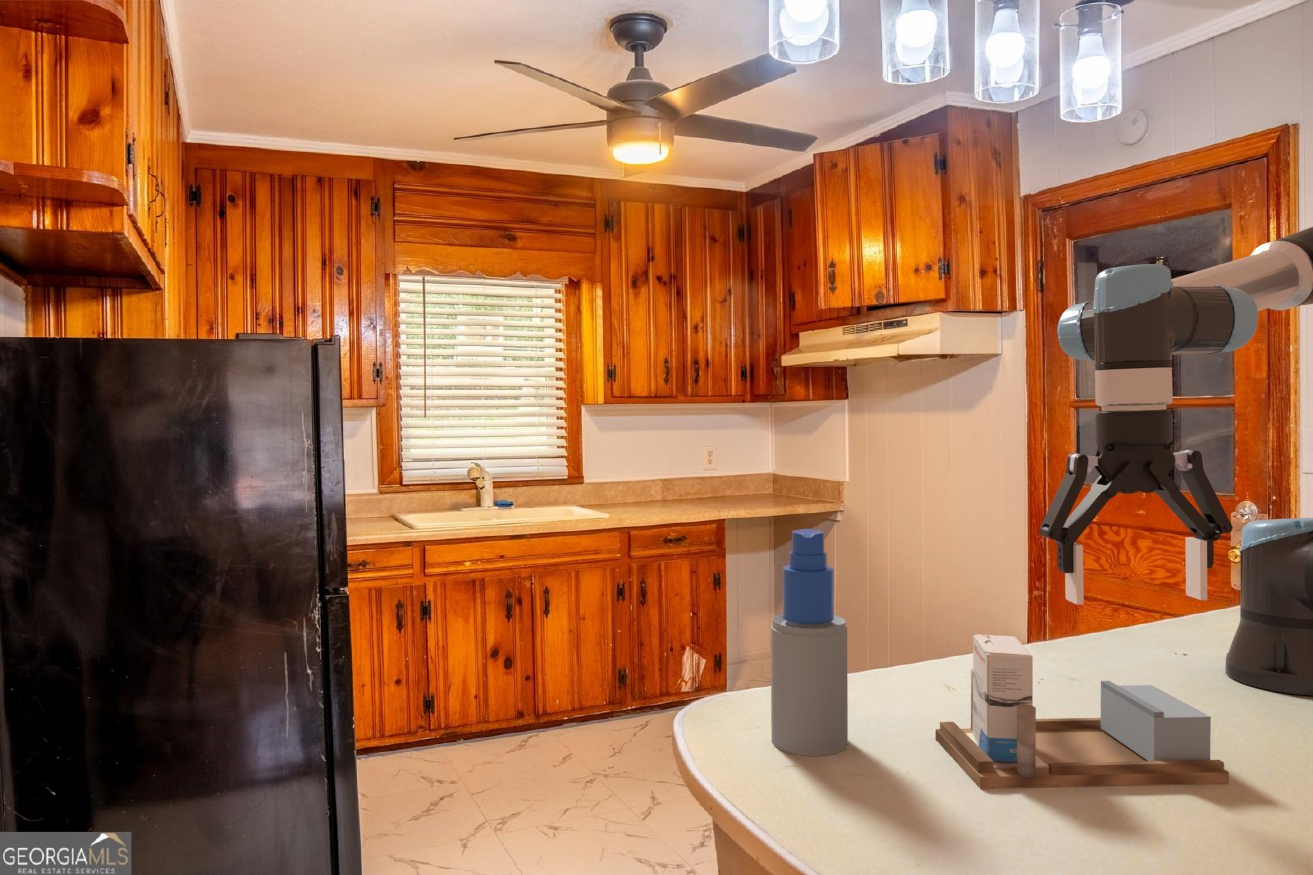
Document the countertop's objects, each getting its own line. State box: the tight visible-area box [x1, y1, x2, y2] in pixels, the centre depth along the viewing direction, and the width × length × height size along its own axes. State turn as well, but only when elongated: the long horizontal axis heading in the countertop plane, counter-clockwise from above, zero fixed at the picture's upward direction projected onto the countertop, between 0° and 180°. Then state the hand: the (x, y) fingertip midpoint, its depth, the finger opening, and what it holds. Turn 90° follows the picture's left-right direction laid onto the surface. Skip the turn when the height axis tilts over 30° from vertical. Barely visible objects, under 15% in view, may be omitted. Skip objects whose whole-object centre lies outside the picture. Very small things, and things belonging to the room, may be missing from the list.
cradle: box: [935, 668, 1230, 789], centre depth 101 cm, size 26×15×8 cm, turn 91°
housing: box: [1100, 680, 1212, 761], centre depth 101 cm, size 6×11×6 cm, turn 1°
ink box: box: [972, 634, 1034, 762], centre depth 101 cm, size 8×5×12 cm, turn 171°
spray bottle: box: [770, 528, 849, 757], centre depth 107 cm, size 9×9×25 cm
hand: (1135, 600), depth 101 cm, fingers open, 13 cm apart
